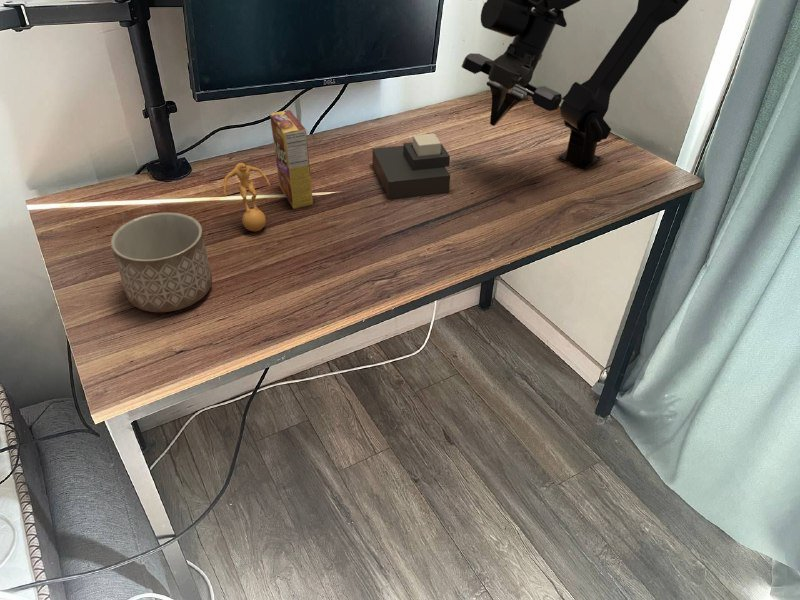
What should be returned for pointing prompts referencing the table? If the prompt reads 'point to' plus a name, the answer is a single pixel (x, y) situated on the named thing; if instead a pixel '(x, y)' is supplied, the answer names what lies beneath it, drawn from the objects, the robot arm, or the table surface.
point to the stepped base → (411, 171)
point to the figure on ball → (251, 217)
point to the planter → (162, 261)
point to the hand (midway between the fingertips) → (492, 124)
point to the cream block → (426, 145)
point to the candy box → (292, 158)
